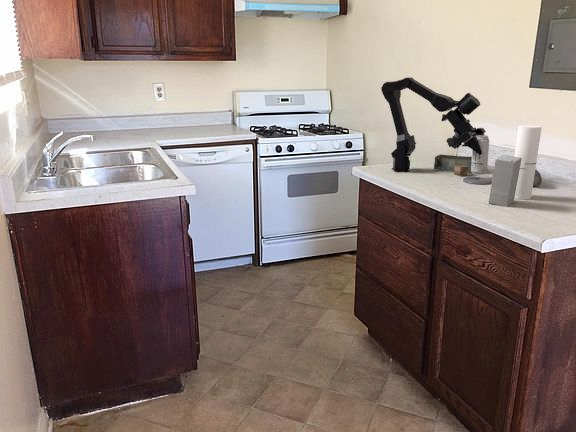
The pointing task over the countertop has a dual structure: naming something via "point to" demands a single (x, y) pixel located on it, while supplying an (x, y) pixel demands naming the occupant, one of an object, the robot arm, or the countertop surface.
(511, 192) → the skincare box
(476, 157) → the energy drink can
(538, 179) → the perforated stone tool
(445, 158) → the beverage carton
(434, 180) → the countertop surface
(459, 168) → the walnut block
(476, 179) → the coaster
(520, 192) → the cylindrical container
